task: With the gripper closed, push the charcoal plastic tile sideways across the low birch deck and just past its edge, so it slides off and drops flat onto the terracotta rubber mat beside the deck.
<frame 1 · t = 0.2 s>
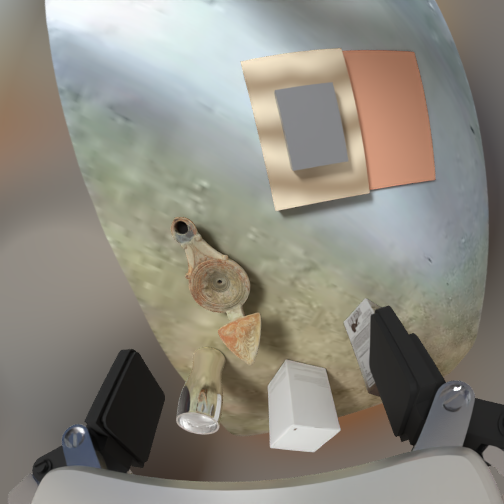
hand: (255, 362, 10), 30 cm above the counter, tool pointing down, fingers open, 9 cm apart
tile: (311, 125, 31), point 3 cm above the counter, touching deck
coffee box: (370, 319, 46), on the counter
deck: (307, 126, 34), on the counter
mat: (394, 116, 33), on the counter
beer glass: (209, 357, 50), on the counter
oil lamp: (219, 271, 43), on the counter
supplement box: (296, 377, 52), on the counter
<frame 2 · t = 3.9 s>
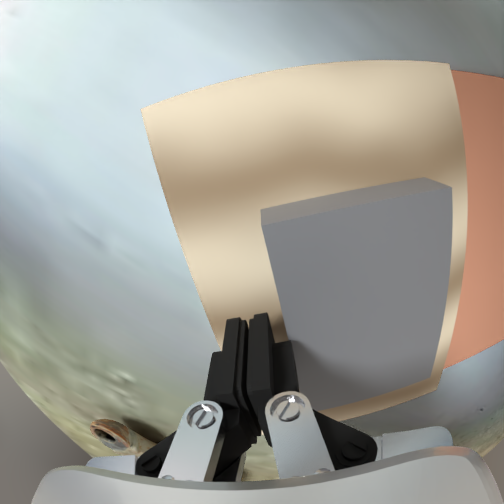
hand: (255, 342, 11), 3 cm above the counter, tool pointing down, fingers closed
tile: (367, 312, 11), point 3 cm above the counter, touching gripper
deck: (341, 280, 14), on the counter
oil lamp: (180, 456, 23), on the counter
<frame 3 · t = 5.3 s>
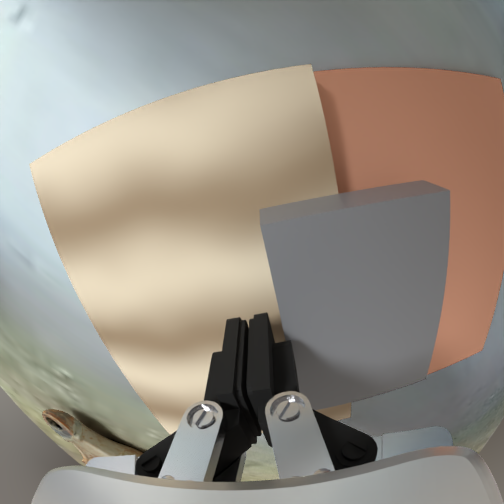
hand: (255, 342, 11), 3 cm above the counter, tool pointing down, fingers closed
tile: (364, 312, 11), point 3 cm above the counter, touching deck, gripper
deck: (215, 304, 15), on the counter
mat: (441, 253, 13), on the counter
oil lamp: (127, 449, 24), on the counter
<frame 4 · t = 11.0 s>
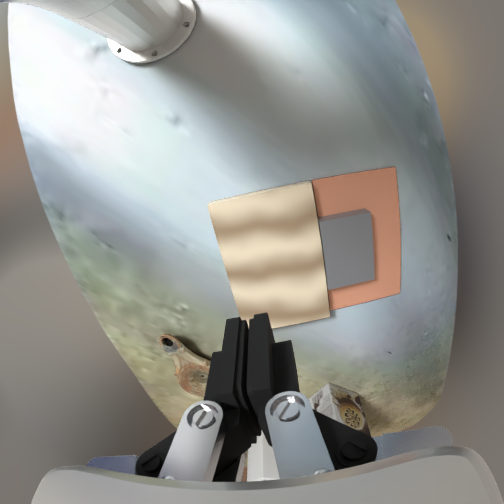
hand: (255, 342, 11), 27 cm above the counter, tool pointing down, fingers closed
tile: (347, 249, 37), point 1 cm above the counter, touching mat
coffee box: (333, 395, 52), on the counter
deck: (274, 260, 40), on the counter
mat: (362, 242, 38), on the counter
oil lamp: (202, 365, 49), on the counter
supplement box: (271, 431, 57), on the counter
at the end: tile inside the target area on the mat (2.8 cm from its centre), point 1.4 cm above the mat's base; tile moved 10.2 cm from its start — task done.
